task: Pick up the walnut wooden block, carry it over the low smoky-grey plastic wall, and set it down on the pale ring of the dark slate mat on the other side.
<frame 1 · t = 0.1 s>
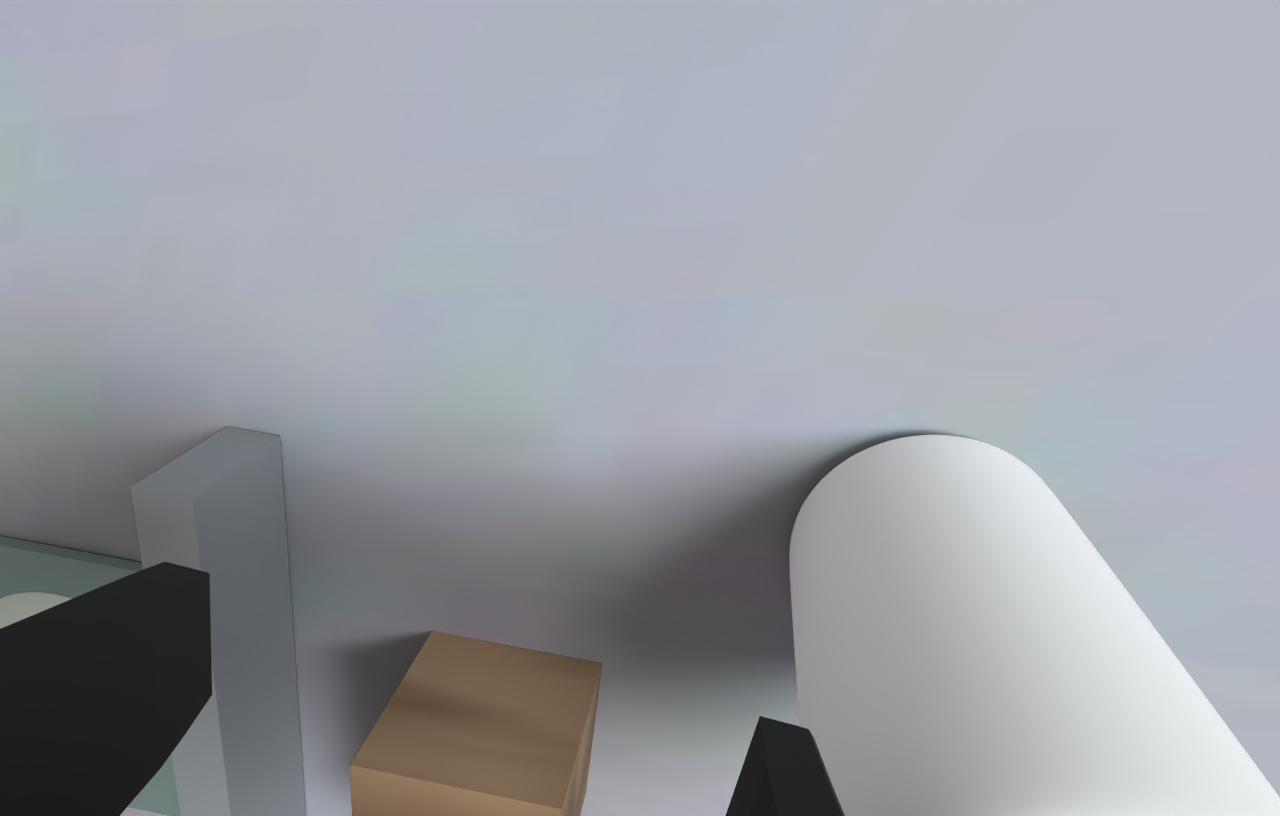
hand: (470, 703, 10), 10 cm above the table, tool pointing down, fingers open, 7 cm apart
walnut block: (512, 711, 23), on the table
can: (918, 541, 19), on the table
low wall: (275, 692, 24), on the table
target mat: (86, 678, 25), on the table
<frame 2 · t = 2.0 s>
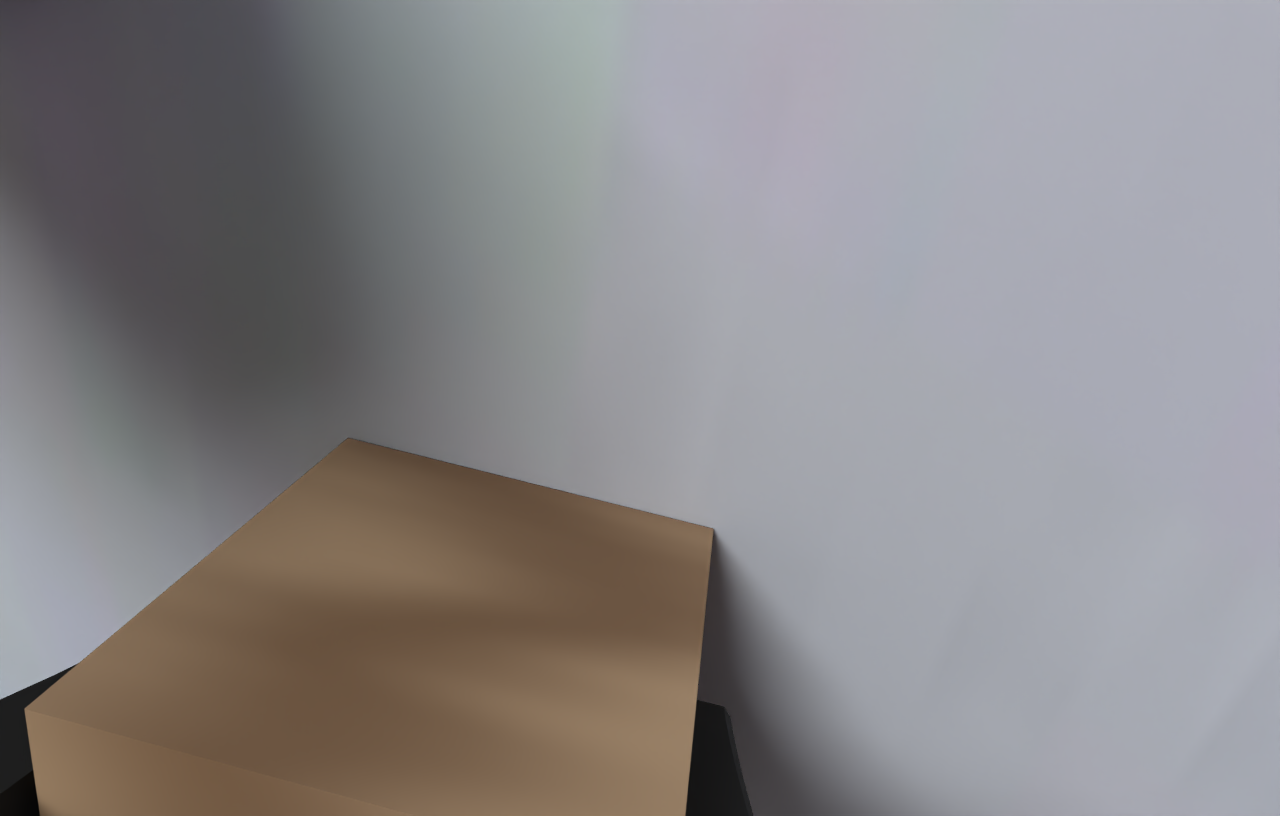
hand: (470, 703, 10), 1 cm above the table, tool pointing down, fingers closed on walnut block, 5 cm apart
walnut block: (503, 632, 11), on the table, touching gripper
when the fingers open (3 cm above the table, at t = 5.7 s): walnut block drops 1 cm, resting on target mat.
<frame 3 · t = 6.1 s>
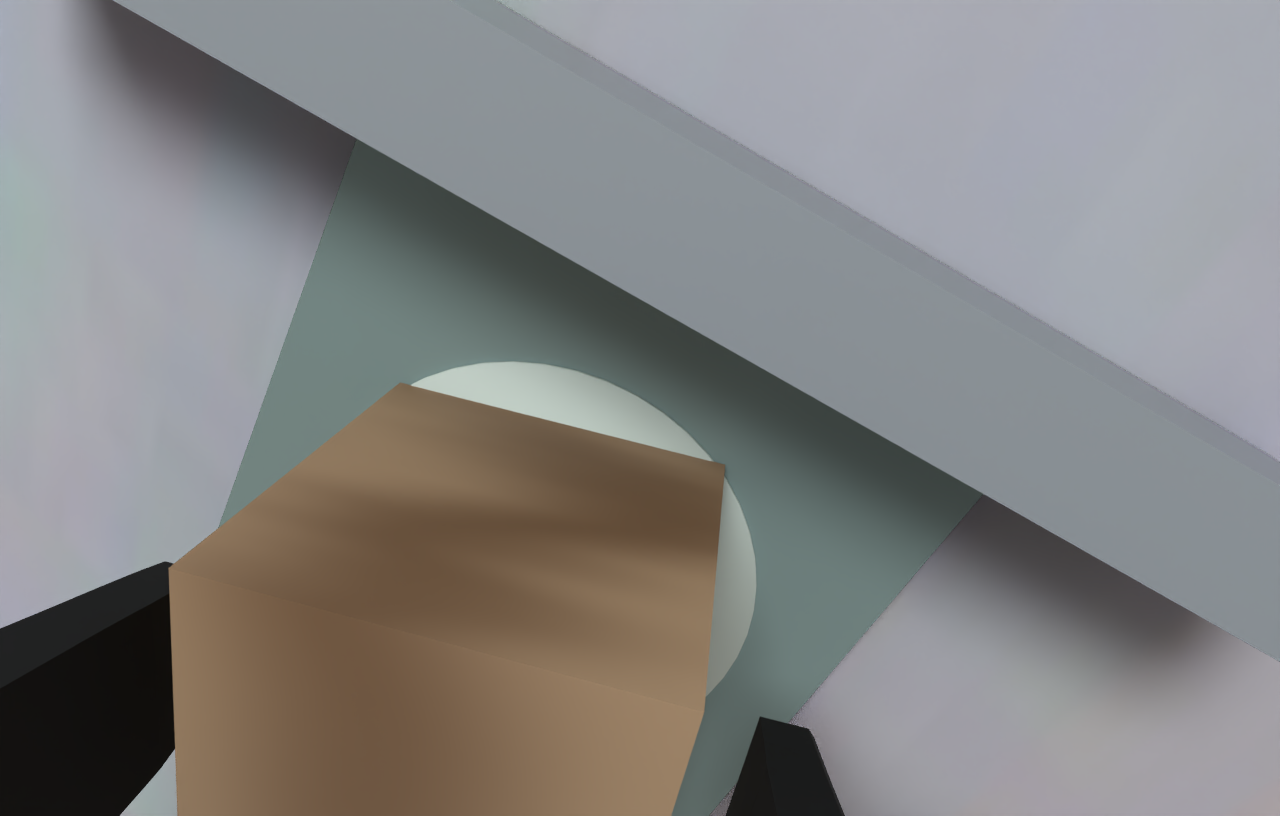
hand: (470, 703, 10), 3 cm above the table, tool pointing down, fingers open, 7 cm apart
walnut block: (535, 561, 13), resting on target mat
low wall: (676, 175, 10), on the table
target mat: (539, 557, 13), on the table
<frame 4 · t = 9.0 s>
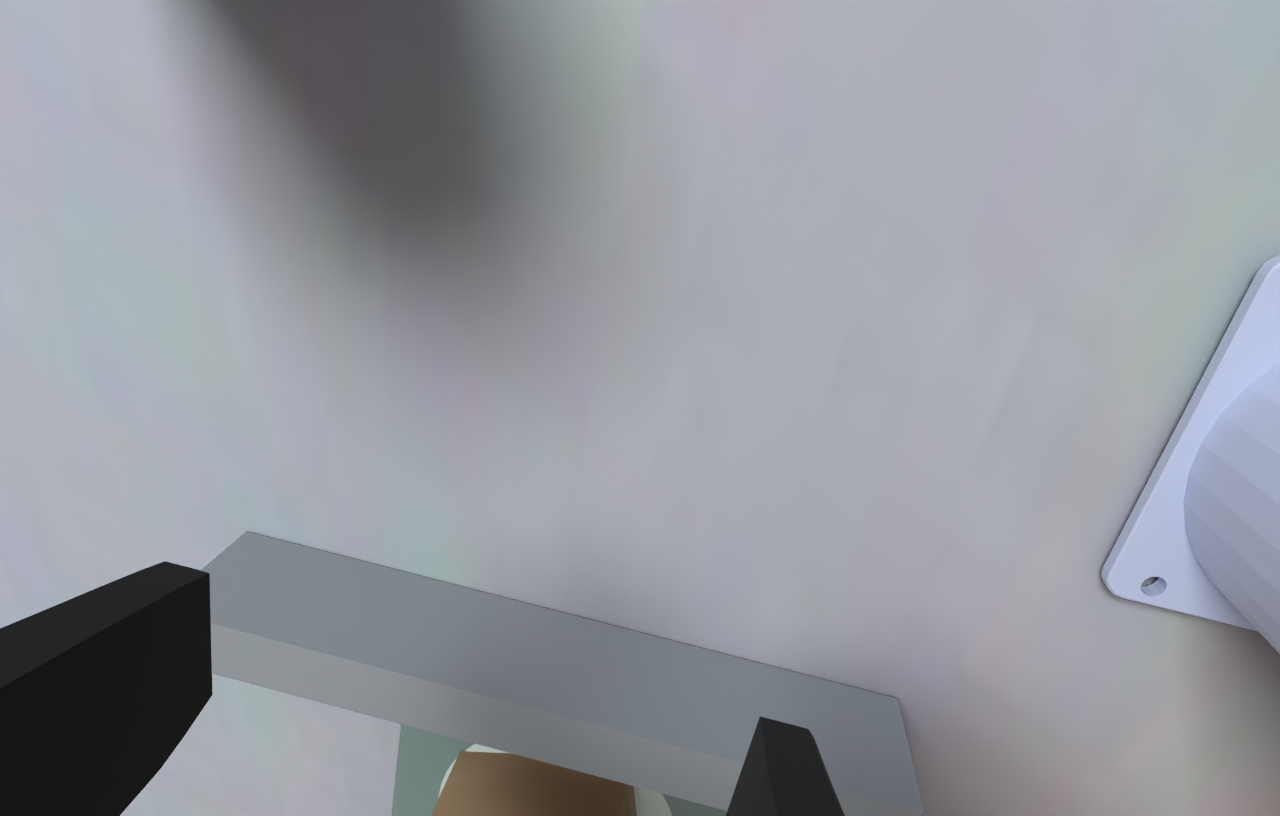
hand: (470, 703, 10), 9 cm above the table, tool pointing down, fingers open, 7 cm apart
low wall: (560, 635, 21), on the table
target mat: (558, 812, 24), on the table
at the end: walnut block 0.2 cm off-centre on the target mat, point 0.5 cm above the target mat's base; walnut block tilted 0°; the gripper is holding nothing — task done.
